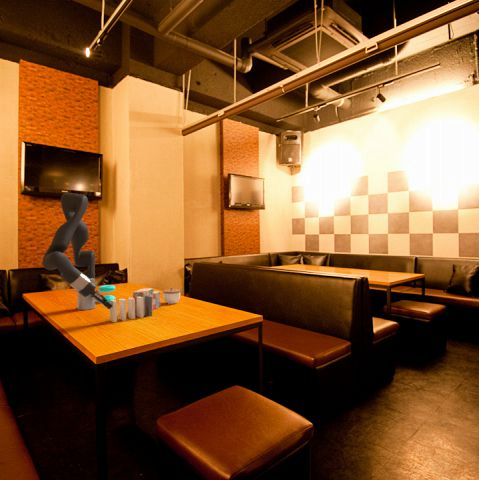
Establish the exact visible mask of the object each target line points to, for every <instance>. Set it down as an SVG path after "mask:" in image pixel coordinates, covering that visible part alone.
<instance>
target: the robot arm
mask: <svg viewBox="0 0 479 480" xmlns="http://www.w3.org/2000/svg"><path fill="white" fill-rule="evenodd" d="M60 205H61V209H62V213H63V216H64V218H65V222H64V223H62V224H61V225H60V226H59V227H58V228H57V230H56V231H55V234H54V236H53V238H52V240H51V243H50V245H49V247H48V248H47V250H46V252H45V253H44V255H43V258H42V266H43V268H44V269H46V270H48V271H53V270H54V271H55V270H56V269H57V270H58V271H59V272H60V278H61V279H63V280H64V281H65V282H66V283H67V284H68V285H70V287H71V288H72V289H73V290H75V291H76V292H77V310H78V311H81V310H82V311H86V310H87V311H88V310H92V309H95V308H96V302H97V303H99V304H101V306H102V305H103V306H104V307H105V308H107V310H110V308H111V307H112V305H111V304H110V302H107V299H105V298H104V296H105V295H103V294H102V292H101V291H99V290H98V289H96V288H97V284H96V273H95V271H96V267H95V266H96V252H95V251H94V250H82V248H83V247H84V245H85V244H87V243H88V241H89V238H90V236H89V235H90V234H89V229H88V226H87V225H86V223H85V222H84V221H83V220H82V219H83V217H84V215H85V214H86V212H87V209H88V205H89V198H88V197H87V196H86V195H85V194H82V193H81V194H79V193H72V192H65V193H62V195H61V198H60ZM70 244H71V247H72V254H73V261H74V263H72V261H71V260H70V259H69V257H68V256H67V255H66V254H65V252H66V251H67V250H68V249H69V246H70ZM74 265H75V266H74ZM76 267H79V268H87V270H85V271H80V270H79V269H78V268H76Z"/></svg>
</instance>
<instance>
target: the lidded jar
mask: <svg viewBox="0 0 479 480" xmlns="http://www.w3.org/2000/svg"><path fill="white" fill-rule="evenodd" d="M162 296H163V299H164V301H165V303H166V304H167V303H168V304H169V305H174V303H175V304H177V303H178V302H179V300H180V298H181V289H177V288H173V287H170V288H169V289H164V290H162Z"/></svg>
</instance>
